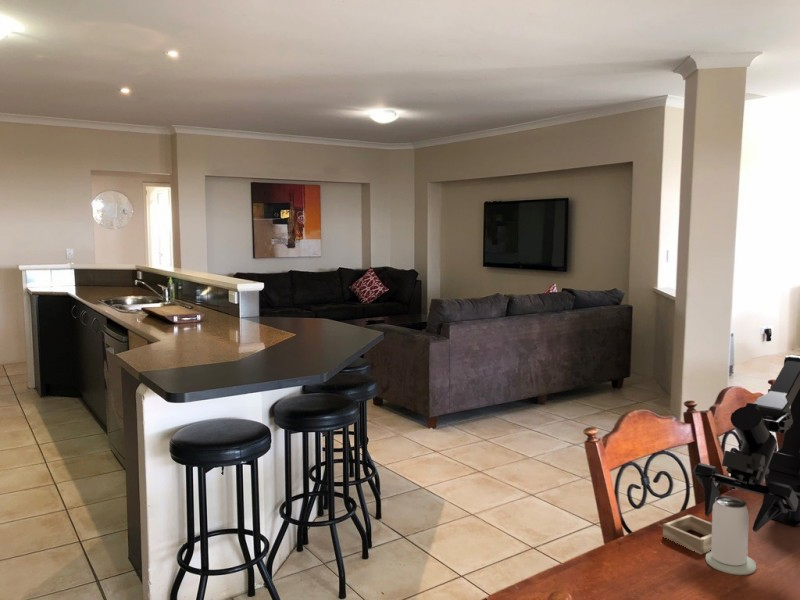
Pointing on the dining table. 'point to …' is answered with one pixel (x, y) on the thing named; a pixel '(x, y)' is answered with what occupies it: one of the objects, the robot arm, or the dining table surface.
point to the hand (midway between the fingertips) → (729, 523)
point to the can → (730, 531)
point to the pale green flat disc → (737, 570)
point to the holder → (694, 543)
